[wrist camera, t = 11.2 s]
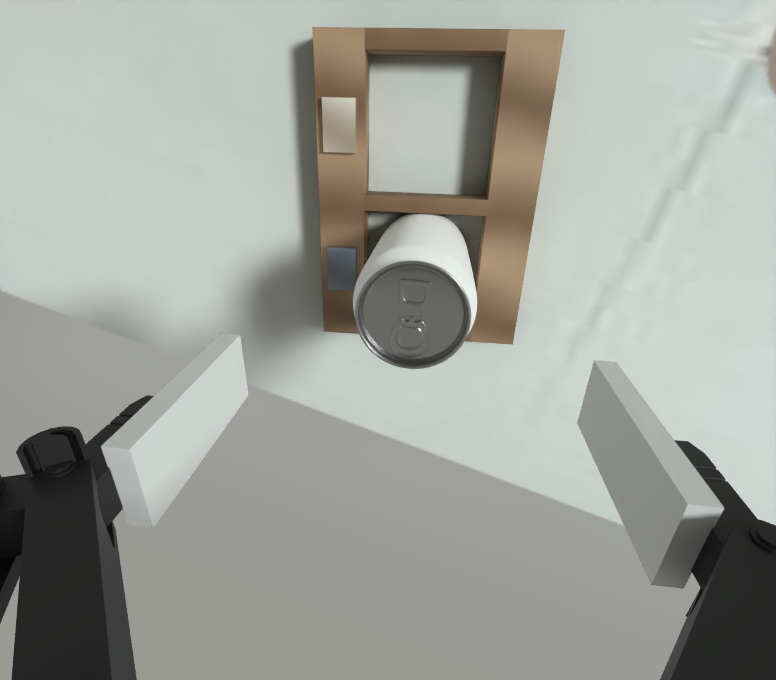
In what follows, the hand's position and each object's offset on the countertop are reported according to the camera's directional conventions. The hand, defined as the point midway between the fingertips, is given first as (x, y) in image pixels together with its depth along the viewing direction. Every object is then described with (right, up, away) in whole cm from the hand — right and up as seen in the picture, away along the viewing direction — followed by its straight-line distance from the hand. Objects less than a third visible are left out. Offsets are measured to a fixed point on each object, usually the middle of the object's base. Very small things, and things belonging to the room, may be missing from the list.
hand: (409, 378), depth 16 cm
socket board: (+2, +11, +14) cm, 18 cm away
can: (+2, +8, +15) cm, 17 cm away
